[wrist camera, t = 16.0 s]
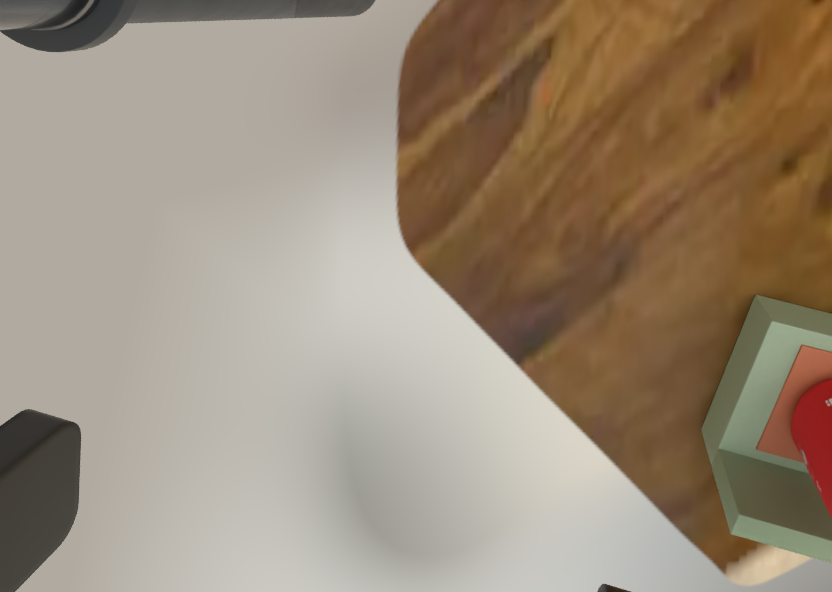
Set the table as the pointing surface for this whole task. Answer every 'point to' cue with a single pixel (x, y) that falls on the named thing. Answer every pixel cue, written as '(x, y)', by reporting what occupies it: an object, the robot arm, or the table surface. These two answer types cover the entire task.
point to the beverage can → (816, 436)
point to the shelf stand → (770, 428)
